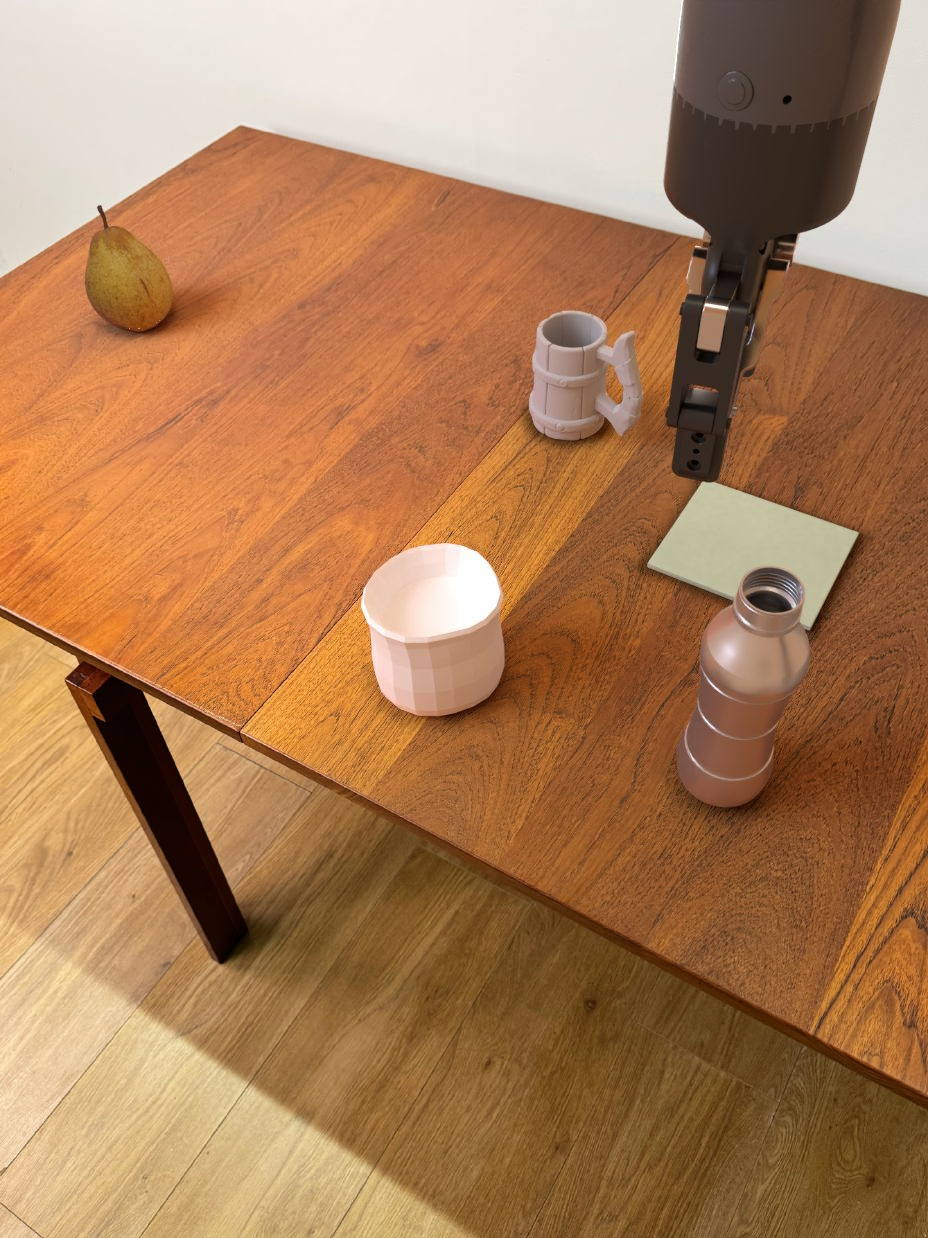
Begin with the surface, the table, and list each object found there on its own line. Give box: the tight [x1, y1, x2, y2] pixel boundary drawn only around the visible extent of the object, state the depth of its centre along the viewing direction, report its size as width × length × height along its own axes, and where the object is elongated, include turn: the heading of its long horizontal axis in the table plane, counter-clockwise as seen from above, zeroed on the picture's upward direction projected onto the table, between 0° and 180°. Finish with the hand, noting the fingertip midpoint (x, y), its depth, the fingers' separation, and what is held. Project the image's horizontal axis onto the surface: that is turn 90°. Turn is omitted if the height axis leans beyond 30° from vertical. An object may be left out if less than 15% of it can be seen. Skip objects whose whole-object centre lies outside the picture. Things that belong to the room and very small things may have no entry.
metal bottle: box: [675, 566, 811, 808], centre depth 63 cm, size 6×7×20 cm
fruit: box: [84, 204, 174, 333], centre depth 107 cm, size 9×9×12 cm
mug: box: [528, 310, 645, 441], centre depth 91 cm, size 8×12×12 cm, turn 49°
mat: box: [646, 481, 860, 631], centre depth 84 cm, size 14×12×1 cm
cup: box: [360, 542, 506, 717], centre depth 74 cm, size 10×10×10 cm
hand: (715, 420), depth 49 cm, fingers open, 8 cm apart
